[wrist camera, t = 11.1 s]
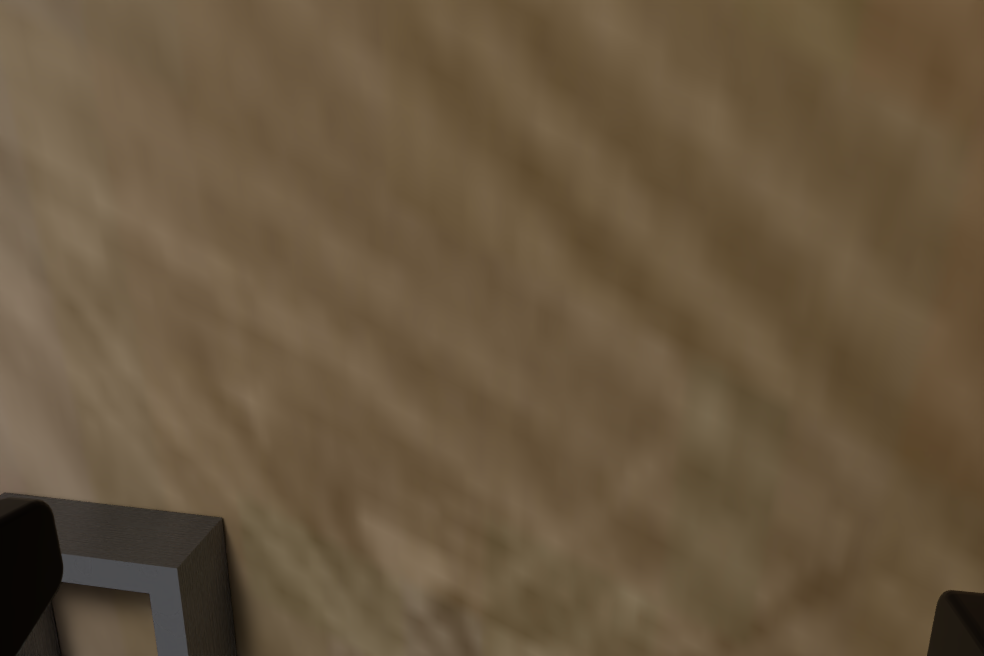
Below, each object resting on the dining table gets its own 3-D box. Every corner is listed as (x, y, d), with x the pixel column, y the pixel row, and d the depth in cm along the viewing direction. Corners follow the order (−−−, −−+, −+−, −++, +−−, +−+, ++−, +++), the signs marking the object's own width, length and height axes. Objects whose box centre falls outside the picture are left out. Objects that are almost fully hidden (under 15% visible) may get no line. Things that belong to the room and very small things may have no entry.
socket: (222, 517, 26) (176, 568, 23) (243, 713, 28) (204, 777, 26) (3, 492, 27) (-60, 537, 25) (41, 682, 29) (-13, 740, 27)
